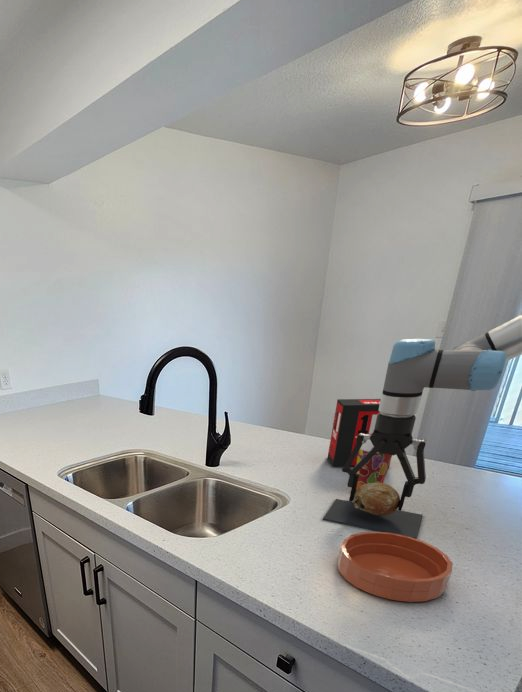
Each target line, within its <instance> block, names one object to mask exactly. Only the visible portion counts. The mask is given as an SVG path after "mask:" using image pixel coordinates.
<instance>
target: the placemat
mask: <svg viewBox="0 0 522 692" xmlns="http://www.w3.org/2000/svg"><path fill="white" fill-rule="evenodd" d="M353 502H354V501H349V500H346V499H345V500H344V499H339V498H335V499H334V501H333V503H332V505H331V506H330V507H329V508H328V510H327V512H326V514H325V515H324V517H322V520H323V521H327V522H332V523H337V524H341V525H346V526H351V527H355V528H360V529H366V530H370V531H373V532H388V533H395V534H400V535H404V536H409V537H412V538H415V539H418V538H417V537H418V533H419V529H420V526H421V522H422V518H423V514H422V513H421V514H420V513H417V512H410V511H404V510H401V511H400V510H398V509H397V510H396V511H395V512H393V513H392V514H388V515H375V514H371V513H369V512H365V511H363V510H360V509H358V508H355V505H354V503H353Z"/></svg>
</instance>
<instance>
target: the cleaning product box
mask: <svg viewBox="0 0 522 692" xmlns="http://www.w3.org/2000/svg"><path fill="white" fill-rule="evenodd" d="M336 400H337V401H336V406H335V412H334V416H333V417H334V418H333V424H332V430H331V437H330V441H329V447H328V451H327V452H328V453H327V460H328V463H330V465H331V467H332V468H343V467H344V465H345V463H346V462H347V460H348V458H349V456H350V454H351V453H352V451H353V449H354V447H355V445H356V441H357V436H358V435H359V434H360V433H364V434H372V433H373V432H374V428H375V423H376V419H377V415H378V414H379V413H381V412H380V411H379V405H380V400H381V398H346V399H345V398H338V399H336ZM357 456H358V453H357V455H356V457H355V459H354V461H353V462H352V464H351V466H350V467H351V468H354V467H355V466H356V464H357ZM390 465H391V463H390V464H389V467H388V469H389V468H390Z"/></svg>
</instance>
